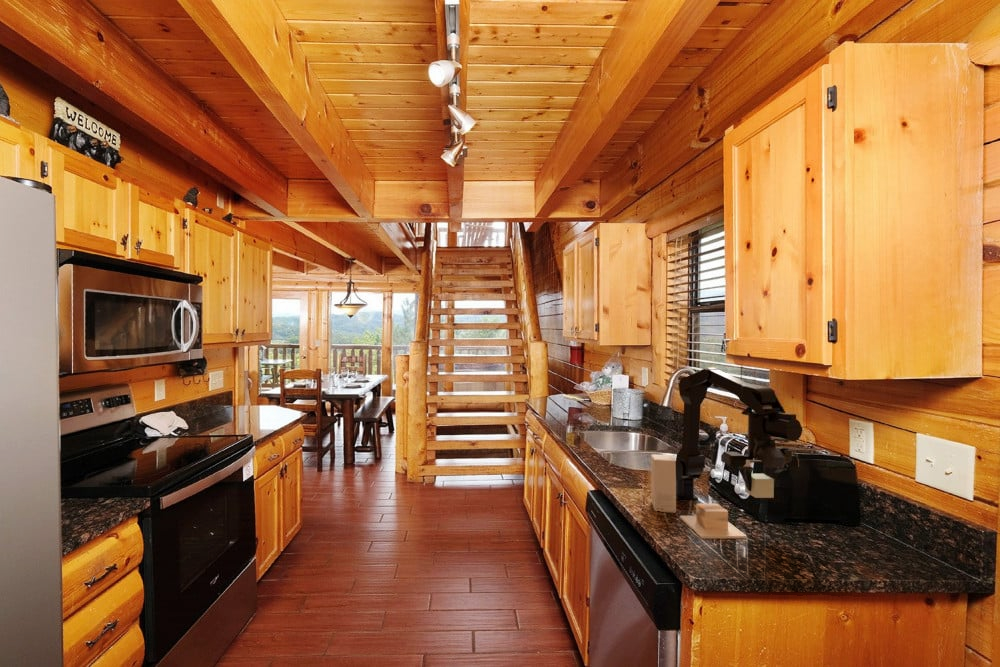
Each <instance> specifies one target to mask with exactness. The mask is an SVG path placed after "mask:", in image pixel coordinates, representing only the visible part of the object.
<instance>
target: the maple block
mask: <svg viewBox="0 0 1000 667" xmlns="http://www.w3.org/2000/svg"><path fill="white" fill-rule="evenodd" d="M695 505H696V511H695V516H696V521H697V522H698V523H699V524H700V525H701V526H702V527H703V528H704V529H706V530H728V522H729V511H728V510H727V509H726V508H724V506H721V505H720V504H719V503H711V502H710V503H700V502H699V503H696V504H695Z"/></svg>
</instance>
